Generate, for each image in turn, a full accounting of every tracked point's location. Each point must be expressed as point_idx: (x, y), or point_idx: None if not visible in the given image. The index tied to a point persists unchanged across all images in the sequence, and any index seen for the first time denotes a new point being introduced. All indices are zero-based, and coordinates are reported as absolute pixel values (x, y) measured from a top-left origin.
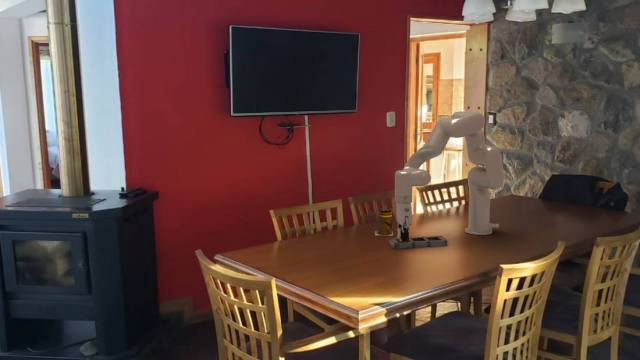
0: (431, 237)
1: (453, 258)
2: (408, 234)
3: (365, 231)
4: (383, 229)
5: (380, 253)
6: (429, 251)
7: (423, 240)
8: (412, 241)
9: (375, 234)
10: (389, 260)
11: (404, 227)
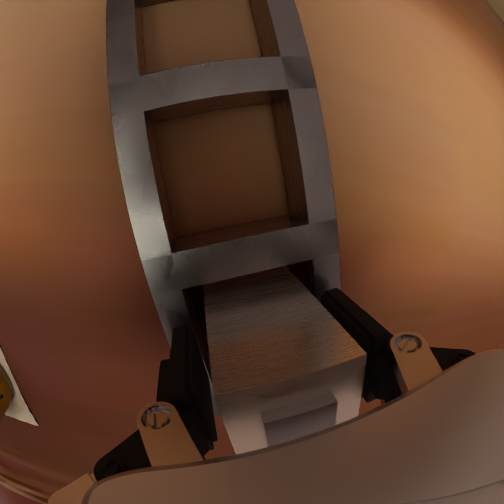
0: (134, 24)
1: (471, 61)
2: (369, 320)
3: (3, 435)
4: (1, 413)
5: (379, 399)
6: (397, 121)
7: (185, 107)
8: (307, 242)
9: (24, 420)
10: (459, 345)
11: (313, 420)
